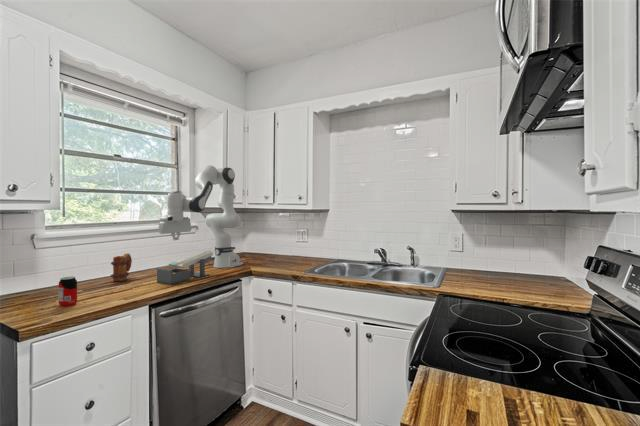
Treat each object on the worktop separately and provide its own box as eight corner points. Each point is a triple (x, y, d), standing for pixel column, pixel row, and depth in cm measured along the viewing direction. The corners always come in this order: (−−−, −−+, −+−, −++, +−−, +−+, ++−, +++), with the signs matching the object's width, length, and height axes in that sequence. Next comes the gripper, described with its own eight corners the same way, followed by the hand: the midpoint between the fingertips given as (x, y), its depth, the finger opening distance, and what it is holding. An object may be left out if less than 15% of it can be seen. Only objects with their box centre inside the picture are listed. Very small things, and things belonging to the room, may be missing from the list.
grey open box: (176, 278, 191) (176, 265, 191) (190, 280, 184) (190, 266, 184) (156, 282, 180) (156, 268, 180) (170, 285, 174) (170, 270, 173)
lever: (198, 257, 211) (196, 248, 209) (214, 259, 203) (212, 250, 202) (169, 270, 192) (166, 260, 191) (185, 272, 184) (183, 262, 183)
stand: (194, 273, 203) (194, 256, 203) (209, 276, 196) (209, 258, 196) (184, 276, 196) (183, 258, 196) (199, 278, 189) (198, 260, 189)
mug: (121, 282, 180) (121, 256, 180) (107, 282, 180) (107, 256, 180) (137, 276, 194) (136, 252, 194) (124, 276, 195) (123, 252, 194)
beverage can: (76, 305, 138) (76, 278, 138) (58, 308, 134) (57, 280, 134) (77, 301, 143) (77, 275, 143) (59, 304, 139) (59, 277, 139)
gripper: (186, 216, 202) (187, 238, 203) (156, 218, 184) (157, 241, 185) (193, 217, 199) (193, 238, 199) (163, 218, 181) (163, 242, 182)
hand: (175, 240), depth 192 cm, fingers closed
